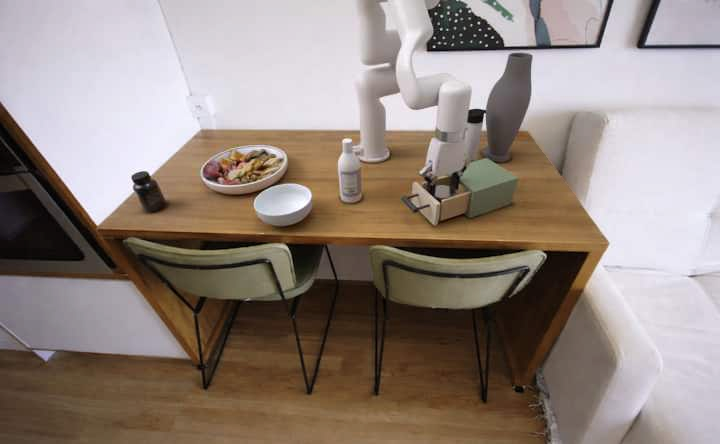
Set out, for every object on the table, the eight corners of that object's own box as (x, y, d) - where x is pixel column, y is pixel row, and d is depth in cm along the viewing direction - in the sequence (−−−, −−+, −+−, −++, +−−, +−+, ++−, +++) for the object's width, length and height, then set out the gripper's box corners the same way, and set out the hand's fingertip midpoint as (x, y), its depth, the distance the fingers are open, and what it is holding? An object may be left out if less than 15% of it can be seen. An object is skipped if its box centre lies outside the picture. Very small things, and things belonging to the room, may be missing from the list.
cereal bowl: (311, 197, 112) (308, 179, 108) (318, 228, 99) (315, 209, 95) (258, 206, 109) (253, 188, 105) (259, 239, 97) (253, 220, 92)
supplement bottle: (142, 205, 113) (125, 174, 105) (164, 198, 116) (149, 167, 108) (146, 215, 108) (129, 183, 101) (169, 207, 111) (153, 175, 104)
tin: (433, 212, 100) (434, 198, 97) (428, 199, 105) (429, 186, 102) (455, 210, 100) (457, 196, 97) (449, 197, 105) (451, 183, 102)
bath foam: (365, 199, 110) (363, 142, 97) (345, 206, 107) (341, 147, 95) (356, 189, 115) (353, 133, 102) (337, 195, 112) (331, 138, 100)
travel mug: (476, 169, 122) (487, 114, 109) (457, 168, 123) (465, 113, 110) (475, 160, 126) (485, 107, 114) (457, 159, 128) (464, 106, 115)
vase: (471, 153, 131) (488, 54, 109) (494, 144, 136) (515, 47, 114) (499, 167, 122) (524, 62, 100) (522, 156, 127) (551, 54, 105)
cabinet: (469, 218, 100) (474, 191, 94) (441, 194, 110) (445, 169, 104) (511, 203, 105) (518, 177, 99) (481, 182, 115) (486, 157, 109)
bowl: (271, 149, 141) (267, 131, 136) (303, 179, 121) (299, 159, 116) (196, 172, 129) (189, 153, 124) (218, 209, 109) (210, 189, 104)
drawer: (417, 231, 95) (419, 210, 90) (396, 207, 104) (396, 187, 99) (476, 211, 101) (480, 190, 96) (450, 190, 110) (453, 170, 105)
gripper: (468, 121, 93) (459, 177, 104) (413, 134, 88) (409, 191, 99) (486, 131, 88) (475, 189, 99) (428, 146, 83) (423, 205, 94)
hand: (442, 190), depth 99 cm, fingers open, 7 cm apart
